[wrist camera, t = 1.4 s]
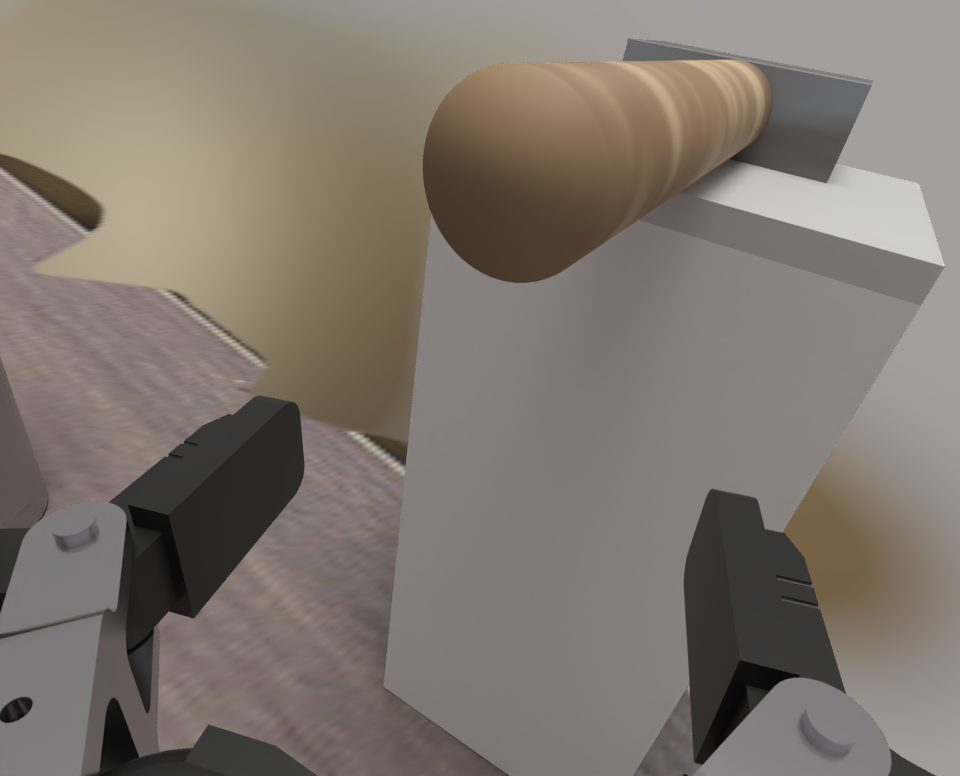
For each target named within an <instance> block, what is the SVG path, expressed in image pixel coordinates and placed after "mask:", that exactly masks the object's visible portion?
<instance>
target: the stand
mask: <svg viewBox="0 0 960 776" xmlns="http://www.w3.org/2000/svg"><path fill="white" fill-rule="evenodd" d="M944 267H945V266H944V263H943V260H942V256H941V253H940V250H939V247H938V244H937V240H936V238H935V234H934V231H933V228H932V225H931V222H930V218H929V215H928V212H927V209H926V206H925V203H924V199H923V196H922V193H921V190H920V187H919V184H918V183H914V182H910V181H906V180H901V179H898V178H893V177H889V176H885V175H881V174H877V173H872V172H868V171H864V170H860V169H855V168H851V167H847V166H843V165H839V164H836V165H835V167H834V169H833V171H832V173H831V176H830V178H829V180H828V182H827V183H823V182H819V181H815V180H811V179H807V178H803V177H799V176H795V175H791V174H787V173H783V172H779V171H775V170H771V169H767V168H763V167H759V166H755V165H751V164H747V163H743V162H739V161H735V160H731V159H728V160H726V161H725V162H723V163H722V164H720V165H719V166H717V167H716V168H714V169H713V170H711V171H710V172H708V173H707V174H706V175H704V176H703V177H701V178H700V179H698V180H697V181H695V182H694V183H692V184H691V185H689V186H688V187H686V188H685V189H683V190H682V191H680V192H679V193H677V194H676V195H675V196H673V197H672V198H670V199H669V200H667V201H666V202H664V203H663V204H661V205H660V206H658V207H657V208H655V209H654V210H652V211H651V212H649V213H648V214H646V215H645V216H643V217H642V218H641V219H639V220H638V221H636V222H635V223H633V224H632V225H630V226H629V227H627V228H626V229H624V230H623V231H621V232H620V233H618V234H617V235H615V236H614V237H612V238H611V239H610V240H608V241H607V242H605V243H604V244H602V245H601V246H599V247H598V248H596V249H595V250H593V251H592V252H590V253H589V254H587V255H586V256H584V257H583V258H581V259H580V260H578V261H577V262H576V263H574V264H573V265H571V266H570V267H568V268H567V269H565V270H563V271H562V272H560V273H559V274H557V275H554V276H552V277H550V278H548V279H544V280H541V281H537V282H529V283H512V282H506V281H501V280H498V279H495V278H492V277H489V276H487V275H485V274H483V273H481V272H479V271H478V270H476V269H474V268H473V267H471V266H470V265H469V264H467V263H466V262H465V261H464V260H462V259H461V258H460V257H459V256H458V255H457V254H456V253H455V252H454V250H453V249H452V248H451V247H450V245H449V244H448V243H447V242H446V240H445V239H444V237H443V235H442V234H441V232H440V231H439V229H438V227H437V225H436V223H435V221H434V219H433V216H432V214H431V223H430V233H429V244H428V253H427V263H426V273H425V282H424V292H423V302H422V312H421V322H420V332H419V341H418V351H417V361H416V371H415V382H414V391H413V401H412V410H411V421H410V431H409V440H408V449H407V459H406V469H405V479H404V489H403V499H402V508H401V518H400V528H399V538H398V548H397V558H396V567H395V577H394V587H393V597H392V607H391V617H390V626H389V636H388V646H387V656H386V666H385V676H384V685H383V687H384V688H386V689H387V690H389V691H390V692H392V693H393V694H394V695H396V696H397V697H399V698H400V699H401V700H403V701H404V702H406V703H407V704H408V705H410V706H411V707H413V708H414V709H416V710H417V711H418V712H420V713H421V714H423V715H424V716H425V717H427V718H428V719H430V720H431V721H432V722H434V723H435V724H437V725H438V726H440V727H441V728H442V729H444V730H445V731H447V732H448V733H449V734H451V735H452V736H454V737H455V738H457V739H458V740H459V741H461V742H462V743H464V744H465V745H466V746H468V747H469V748H471V749H472V750H473V751H475V752H476V753H478V754H479V755H481V756H482V757H483V758H485V759H486V760H488V761H489V762H490V763H492V764H493V765H495V766H496V767H497V768H499V769H500V770H502V771H503V772H505V773H506V774H507V775H509V776H633V775H634V774H635V772H636V770H637V769H638V767H639V766H640V764H641V762H642V761H643V759H644V757H645V756H646V754H647V753H648V751H649V749H650V748H651V746H652V744H653V743H654V741H655V739H656V738H657V736H658V735H659V733H660V731H661V730H662V728H663V726H664V725H665V723H666V721H667V720H668V718H669V717H670V715H671V713H672V712H673V710H674V708H675V707H676V705H677V703H678V702H679V700H680V699H681V697H682V695H683V694H684V692H685V690H686V689H687V687H688V685H689V684H690V683H689V667H688V651H687V634H686V618H685V602H684V570H685V563H686V558H687V554H688V551H689V547H690V544H691V541H692V538H693V535H694V532H695V529H696V526H697V523H698V520H699V517H700V514H701V511H702V508H703V505H704V502H705V499H706V497H707V494H708V492H709V491H710V490H711V489H716V490H721V491H726V492H731V493H736V494H741V495H746V496H751V497H755V498H756V499H757V500H758V503H759V507H760V511H761V515H762V519H763V523H764V527H765V529H767V530H772V531H777V532H783V530H784V529H785V527H786V525H787V524H788V522H789V520H790V519H791V517H792V515H793V514H794V512H795V510H796V509H797V507H798V506H799V504H800V502H801V501H802V499H803V498H804V496H805V494H806V492H807V491H808V489H809V488H810V486H811V484H812V483H813V481H814V480H815V478H816V476H817V475H818V473H819V471H820V470H821V468H822V466H823V465H824V463H825V462H826V460H827V458H828V457H829V455H830V453H831V452H832V450H833V448H834V447H835V445H836V444H837V442H838V440H839V439H840V437H841V435H842V434H843V432H844V430H845V429H846V427H847V425H848V424H849V422H850V421H851V419H852V417H853V416H854V414H855V413H856V411H857V409H858V408H859V406H860V404H861V403H862V401H863V399H864V398H865V396H866V395H867V393H868V391H869V390H870V388H871V386H872V385H873V383H874V381H875V380H876V378H877V377H878V375H879V373H880V372H881V370H882V368H883V366H884V365H885V363H886V362H887V360H888V358H889V357H890V355H891V354H892V352H893V350H894V349H895V347H896V345H897V344H898V342H899V340H900V339H901V337H902V336H903V334H904V332H905V331H906V329H907V327H908V326H909V324H910V323H911V321H912V319H913V318H914V316H915V314H916V313H917V311H918V310H919V308H920V306H921V304H922V303H923V301H924V300H925V298H926V296H927V295H928V293H929V292H930V290H931V288H932V287H933V285H934V283H935V281H936V280H937V278H938V277H939V275H940V273H941V272H942V270H943V269H944Z"/></svg>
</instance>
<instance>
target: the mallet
mask: <svg viewBox="0 0 960 776" xmlns="http://www.w3.org/2000/svg"><path fill="white" fill-rule="evenodd" d="M872 83H873V81H872V80H867V79H862V78H857V77H851V76H846V75H841V74H835V73H830V72H825V71H820V70H815V69H809V68H804V67H799V66H793V65H788V64H782V63H778V62H772V61H767V60H761V59H756V58H751V57H746V56H740V55H735V54H730V53H724V52H719V51H714V50H708V49H703V48H698V47H692V46H688V45H682V44H677V43H671V42H666V41H653V40H640V39H628V42H627V46H626V50H625V54H624V58H623V61H622V62H621V61H620V62H619V61H616V62H561V63H560V62H557V63H556V62H552V63H502V64H497V65H492V66H488V67H485V68H483V69H480V70H478V71H476V72H474V73H472V74H470V75H469V76H467V77H466V78H464V79H463V80H462V81H461V82H459V83H458V84H457V85H456V86H455V87H454V88H453V89H452V90H451V91H450V92H449V93H448V94H447V96H446V97H445V99H444V100H443V101H442V103H441V104H440V105H439V107H438V109H437V111H436V113H435V115H434V117H433V119H432V122H431V124H430V127H429V130H428V134H427V138H426V142H425V148H424V155H423V178H424V187H425V193H426V197H427V201H428V205H429V208H430V211H431V213H432V216H433V219H434V221H435V223H436V225H437V227H438V229H439V231H440V232H441V234H442V235H443V237H444V239H445V240H446V242H447V243H448V244H449V245H450V247H451V248H452V249H453V250H454V252H455V253H456V254H457V255H458V256H459V257H460V258H461V259H462V260H464V261H465V262H466V263H467V264H469V265H470V266H471V267H473V268H474V269H476V270H478V271H479V272H481V273H483V274H485V275H487V276H489V277H492V278H495V279H498V280H501V281H506V282H512V283H529V282H537V281H541V280H544V279H548V278H550V277H552V276H554V275H557V274H559V273H560V272H562V271H563V270H565V269H567V268H568V267H570V266H571V265H573V264H574V263H576V262H577V261H578V260H580V259H581V258H583V257H584V256H586V255H587V254H589V253H590V252H592V251H593V250H595V249H596V248H598V247H599V246H601V245H602V244H604V243H605V242H607V241H608V240H610V239H611V238H612V237H614V236H615V235H617V234H618V233H620V232H621V231H623V230H624V229H626V228H627V227H629V226H630V225H632V224H633V223H635V222H636V221H638V220H639V219H641V218H642V217H643V216H645V215H646V214H648V213H649V212H651V211H652V210H654V209H655V208H657V207H658V206H660V205H661V204H663V203H664V202H666V201H667V200H669V199H670V198H672V197H673V196H675V195H676V194H677V193H679V192H680V191H682V190H683V189H685V188H686V187H688V186H689V185H691V184H692V183H694V182H695V181H697V180H698V179H700V178H701V177H703V176H704V175H706V174H707V173H708V172H710V171H711V170H713V169H714V168H716V167H717V166H719V165H720V164H722V163H723V162H725V161H726V160H728V159H731V160H735V161H739V162H743V163H747V164H751V165H755V166H759V167H763V168H767V169H771V170H775V171H779V172H783V173H787V174H791V175H795V176H799V177H803V178H807V179H811V180H815V181H819V182H823V183H827V182H828V180H829V178H830V176H831V173H832V171H833V169H834V167H835V165H836V162H837V160H838V158H839V156H840V154H841V152H842V149H843V147H844V145H845V143H846V141H847V138H848V136H849V134H850V132H851V130H852V128H853V125H854V123H855V121H856V118H857V117H858V114H859V112H860V110H861V108H862V106H863V103H864V101H865V99H866V97H867V95H868V93H869V90H870V88H871V86H872Z"/></svg>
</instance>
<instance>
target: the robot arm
mask: <svg viewBox="0 0 960 776" xmlns="http://www.w3.org/2000/svg"><path fill="white" fill-rule="evenodd" d="M303 475H304V454H303V443H302V432H301V421H300V412H299V408H298V406H297V405H296V403H294V402H289V401H284V400H279V399H275V398H269V397H265V396H256V397H254V398H253V399H251V400H250V401H249V402H248V403H247V404H245V405H244V406H243V407H242V408H241V409H240V410H238V411H237V412H236V413H235V414H234V415H230V414H228V415H226V416H223V417H221V418H219V419H217V420H214V421H212V422H210V423H208V424H205V425H203V426H202V427H201V428H199V429H198V430H197V431H196V432H195V433H193V434H192V435H191V436H190V437H188V438H187V439H186V440H185V441H184V444H180V445H179V446H177V447H176V448H175V449H174V450H172V451H171V452H170V453H169V456H168V457H164V458H163V459H161V460H160V461H159V462H158V463H157V464H155V465H154V466H153V467H152V468H150V469H149V470H148V471H147V472H146V473H144V474H143V475H142V476H141V477H139V478H138V479H137V480H136V481H134V482H133V483H132V484H131V485H130V486H128V487H127V488H126V489H125V490H123V491H122V492H121V493H120V494H119V495H117V496H116V497H115V498H114V499H112V500H111V501H110V502H109V503H107V502H85V503H79V504H75V505H71V506H68V507H65V508H62V509H60V510H57V511H55V512H53V513H51V514H49V515H47V516H46V517H44V518H43V519H41V520H40V521H38V520H39V519H40V518H41V517H42V515H43V513H44V511H45V509H46V506H47V501H48V496H47V491H46V488H45V485H44V482H43V479H42V476H41V473H40V470H39V467H38V465H37V462H36V459H35V456H34V452H33V449H32V446H31V444H30V441H29V438H28V435H27V432H26V429H25V426H24V424H23V421H22V418H21V415H20V412H19V409H18V406H17V404H16V401H15V398H14V395H13V392H12V389H11V386H10V384H9V381H8V378H7V375H6V372H5V369H4V366H3V363H2V361H1V358H0V776H317V775H315V774H314V773H313V772H311V771H310V770H308V769H307V768H306V767H304V766H303V765H301V764H300V763H299V762H297V761H296V760H295V759H293V758H292V757H290V756H289V755H288V754H286V753H285V752H283V751H282V750H281V749H279V748H278V747H276V746H274V745H271V744H268V743H265V742H262V741H259V740H255V739H252V738H249V737H246V736H243V735H240V734H236V733H233V732H230V731H227V730H224V729H221V728H218V727H214V726H211V725H208V726H207V727H206V729H205V730H204V732H203V733H202V735H201V736H200V738H199V739H198V741H197V742H196V744H195V745H194V747H193V748H185V749H177V750H168V751H163V752H159V745H158V736H157V710H158V680H159V651H160V631H159V627H158V623H159V622H160V620H161V619H162V618H163V617H164V616H165V615H166V614H167V612H168V611H169V612H173V613H177V614H180V615H184V616H187V617H191V618H195V616H196V615H197V614H198V613H199V611H200V610H201V609H202V608H203V607H204V605H205V604H206V603H207V602H208V600H209V599H210V598H211V597H212V596H213V594H214V593H215V592H216V591H217V589H218V588H219V587H220V586H221V585H222V583H223V582H224V581H225V580H226V578H227V577H228V576H229V575H230V574H231V572H232V571H233V570H234V569H235V567H236V566H237V565H238V564H239V563H240V561H241V560H242V559H243V558H244V557H245V555H246V554H247V553H248V552H249V550H250V549H251V548H252V547H253V546H254V544H255V543H256V542H257V541H258V539H259V538H260V537H261V536H262V535H263V533H264V532H265V531H266V530H267V528H268V527H269V526H270V525H271V524H272V522H273V521H274V520H275V519H276V517H277V516H278V515H279V514H280V513H281V511H282V510H283V509H284V508H285V506H286V505H287V504H288V503H289V502H290V500H291V499H292V498H293V497H294V495H295V494H296V493H297V491H298V489H299V487H300V485H301V482H302V479H303ZM811 584H812V582H811V578H810V575H809V572H808V569H807V565H806V562H805V559H804V557H803V556H802V555H801V553H800V552H799V551H798V549H797V548H796V547H795V546H794V544H793V543H792V542H791V541H790V539H789V538H788V537H787V536H786V534H785V533H782V532H777V531H772V530H767V529H765V527H764V523H763V519H762V515H761V511H760V507H759V503H758V500H757V499H756V498H755V497H751V496H746V495H741V494H736V493H731V492H726V491H721V490H716V489H711V490H710V491H709V492H708V494H707V497H706V499H705V502H704V505H703V508H702V511H701V514H700V517H699V520H698V523H697V526H696V529H695V532H694V535H693V538H692V541H691V544H690V547H689V551H688V554H687V558H686V563H685V570H684V602H685V618H686V634H687V651H688V667H689V683H690V700H691V716H692V732H693V749H694V762H695V763H698V764H702V766H701V767H700V768H699V769H698V770H697V771H696V772H695V773H694V774H693V775H692V776H935V775H933V774H931V773H929V772H927V771H926V770H924V769H922V768H920V767H918V766H916V765H915V764H913V763H911V762H909V761H907V760H906V759H904V758H903V757H901V756H900V755H898V754H897V753H895V752H894V751H892V750H891V749H890V748H889V746H888V743H887V741H886V738H885V736H884V734H883V732H882V731H881V730H880V728H879V726H878V725H877V723H876V722H875V721H874V719H873V718H872V717H871V716H870V715H869V714H868V713H867V712H866V711H865V709H864V708H863V707H861V705H859V704H858V703H857V702H856V701H854V700H853V699H852V698H851V697H849V696H848V695H846V693H845V689H844V686H843V683H842V679H841V677H840V674H839V670H838V667H837V663H836V660H835V657H834V653H833V650H832V647H831V644H830V640H829V637H828V634H827V631H826V627H825V625H824V621H823V618H822V614H821V611H820V609H818V601H817V598H816V595H815V591H814V588H811ZM682 776H688V775H686V774H684V775H682Z"/></svg>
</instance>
